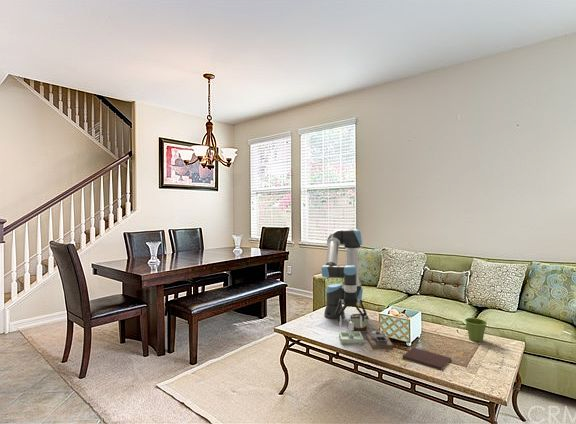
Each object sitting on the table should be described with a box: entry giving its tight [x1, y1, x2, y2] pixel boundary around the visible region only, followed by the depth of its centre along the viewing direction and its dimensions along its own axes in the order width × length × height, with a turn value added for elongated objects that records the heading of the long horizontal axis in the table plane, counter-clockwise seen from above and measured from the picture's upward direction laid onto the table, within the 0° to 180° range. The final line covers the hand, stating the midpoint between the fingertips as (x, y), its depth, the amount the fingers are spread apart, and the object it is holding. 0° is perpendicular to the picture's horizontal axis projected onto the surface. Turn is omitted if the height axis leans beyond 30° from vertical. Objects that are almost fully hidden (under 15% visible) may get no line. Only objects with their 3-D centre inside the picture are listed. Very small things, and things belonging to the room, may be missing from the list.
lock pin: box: [348, 320, 354, 339], centre depth 202 cm, size 3×3×10 cm
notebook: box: [402, 347, 452, 371], centre depth 175 cm, size 15×20×2 cm
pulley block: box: [365, 330, 394, 350], centre depth 197 cm, size 16×12×5 cm
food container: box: [349, 313, 370, 333], centre depth 218 cm, size 12×6×10 cm, turn 84°
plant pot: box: [464, 317, 488, 343], centre depth 199 cm, size 12×12×11 cm
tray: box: [338, 331, 365, 345], centre depth 202 cm, size 12×13×3 cm
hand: (350, 326), depth 202 cm, fingers open, 12 cm apart
